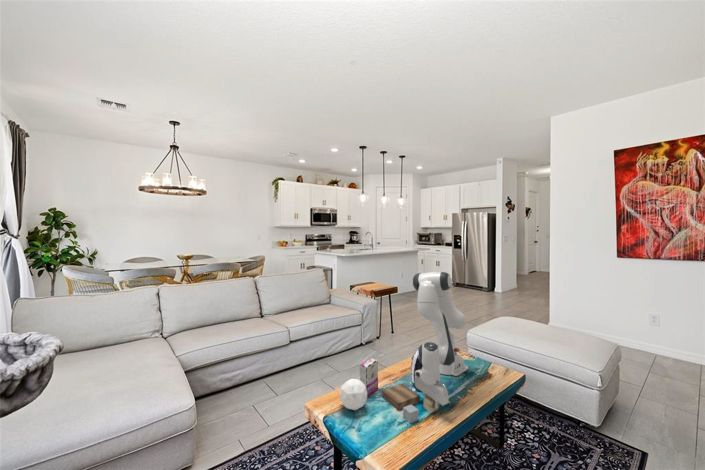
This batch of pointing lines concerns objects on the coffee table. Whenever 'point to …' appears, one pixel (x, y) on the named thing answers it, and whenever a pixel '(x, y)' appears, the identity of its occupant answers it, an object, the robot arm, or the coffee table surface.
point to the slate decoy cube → (410, 413)
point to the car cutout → (449, 400)
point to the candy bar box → (369, 375)
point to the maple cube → (429, 404)
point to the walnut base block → (400, 396)
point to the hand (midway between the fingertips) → (430, 404)
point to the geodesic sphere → (353, 394)
